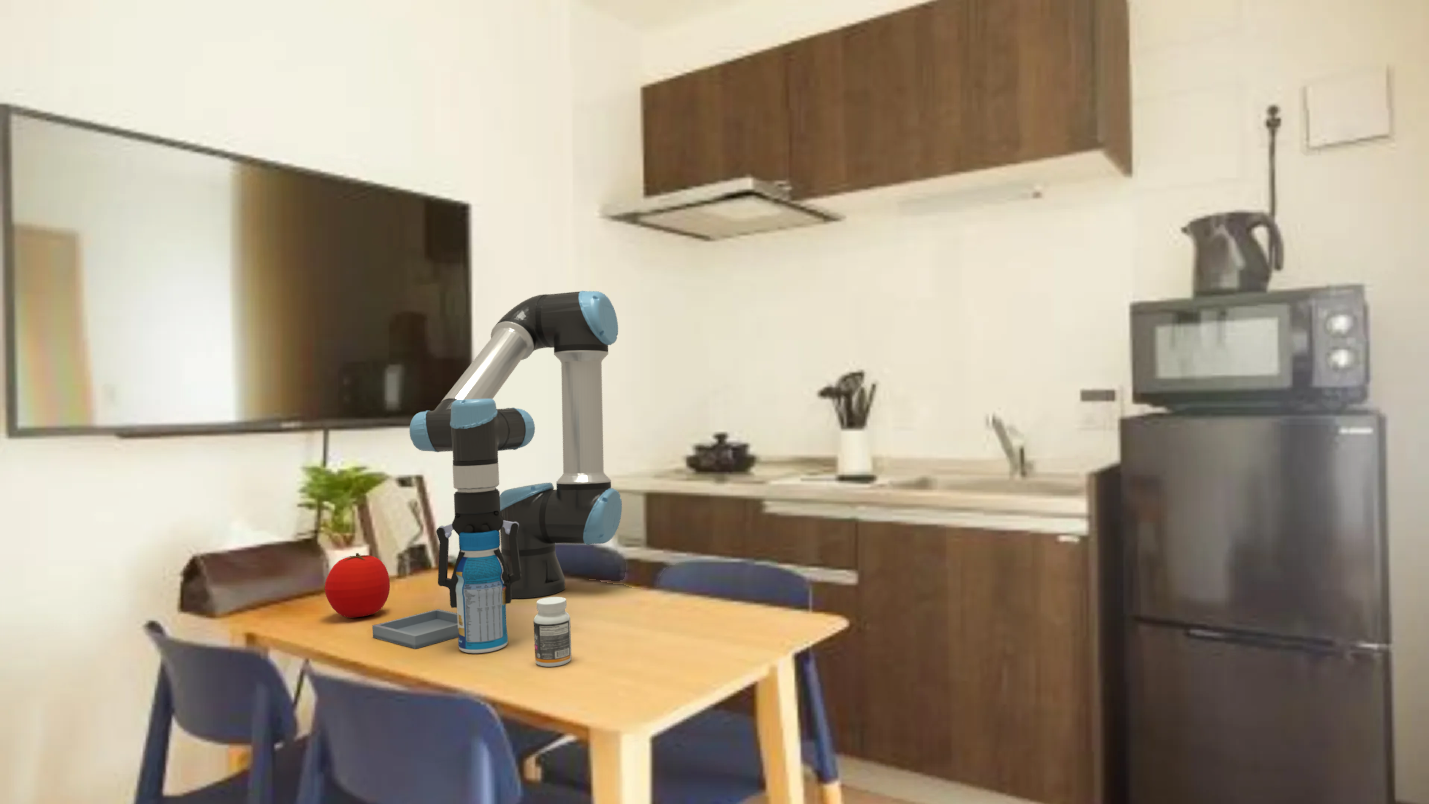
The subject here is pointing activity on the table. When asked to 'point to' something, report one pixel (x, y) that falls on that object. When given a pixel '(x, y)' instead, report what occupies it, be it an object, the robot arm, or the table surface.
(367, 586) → the tomato
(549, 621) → the pill bottle
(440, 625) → the tray
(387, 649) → the table surface
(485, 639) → the beverage bottle
